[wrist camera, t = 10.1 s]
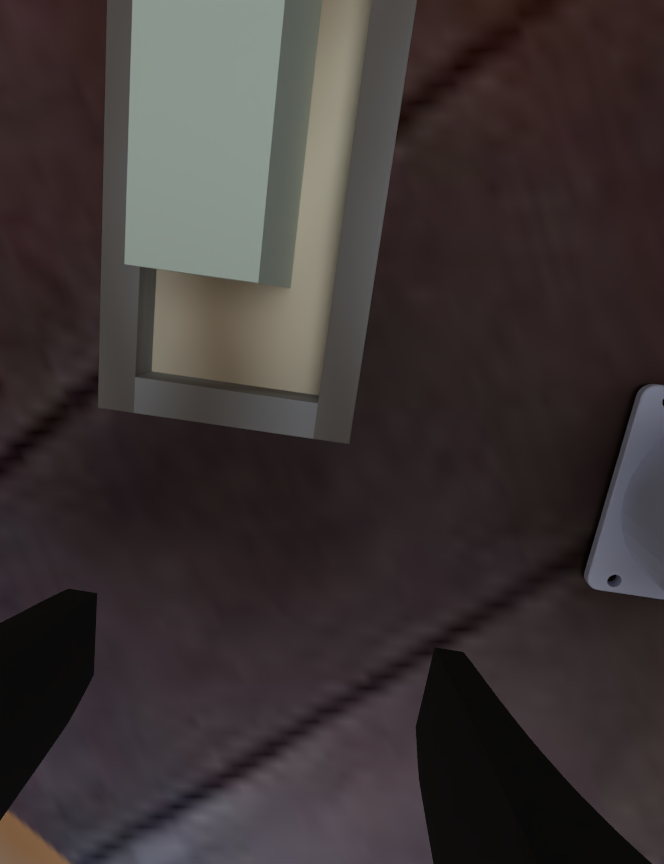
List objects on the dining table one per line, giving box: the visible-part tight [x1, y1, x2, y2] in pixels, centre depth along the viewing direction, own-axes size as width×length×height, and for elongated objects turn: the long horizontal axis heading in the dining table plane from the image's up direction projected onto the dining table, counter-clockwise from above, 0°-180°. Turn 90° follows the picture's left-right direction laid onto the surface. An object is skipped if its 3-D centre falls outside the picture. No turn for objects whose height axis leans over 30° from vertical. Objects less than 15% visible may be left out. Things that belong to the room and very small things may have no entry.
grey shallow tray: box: [98, 0, 417, 444], centre depth 16 cm, size 8×18×2 cm, turn 172°
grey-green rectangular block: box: [124, 0, 322, 288], centre depth 13 cm, size 3×9×6 cm, turn 172°
